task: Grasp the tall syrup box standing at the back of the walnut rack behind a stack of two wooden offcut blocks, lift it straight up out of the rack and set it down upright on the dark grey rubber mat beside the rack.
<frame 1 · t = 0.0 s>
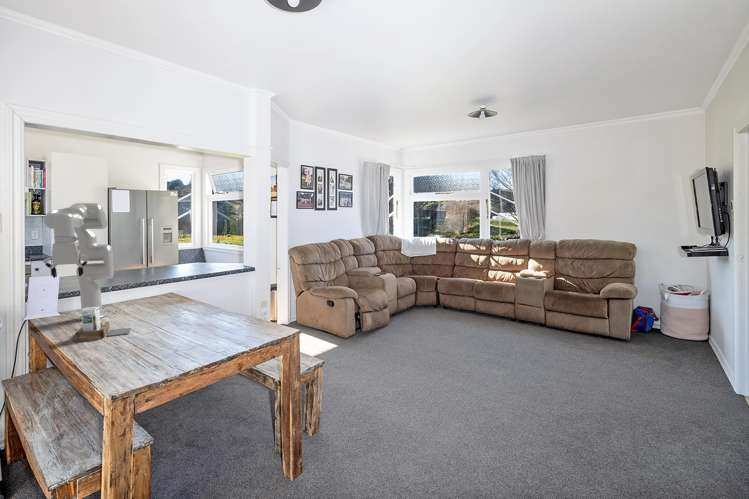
hand: (67, 276, 180), 31 cm above the table, fingers open, 9 cm apart
rack: (93, 335, 192), on the table
offcut upper: (94, 327, 195), point 3 cm above the table, touching offcut lower
offcut lower: (95, 333, 195), on the table, touching offcut upper
syrup box: (92, 337, 189), resting in rack
mat: (119, 332, 196), on the table
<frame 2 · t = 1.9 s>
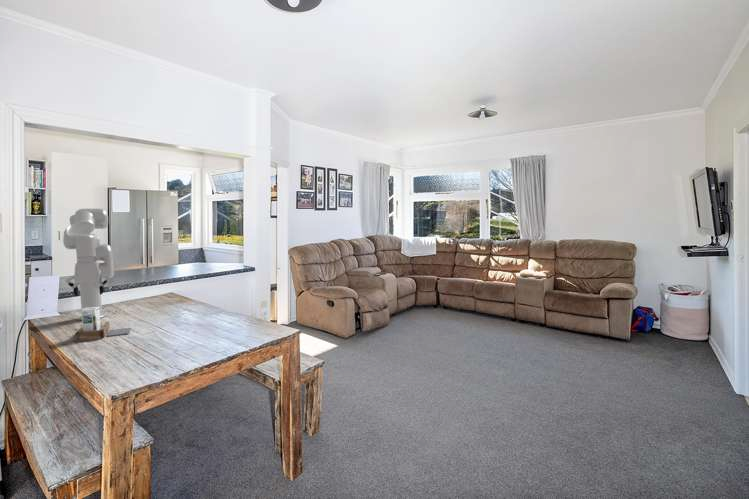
hand: (89, 294, 187), 21 cm above the table, fingers open, 9 cm apart
nothing on the table moved.
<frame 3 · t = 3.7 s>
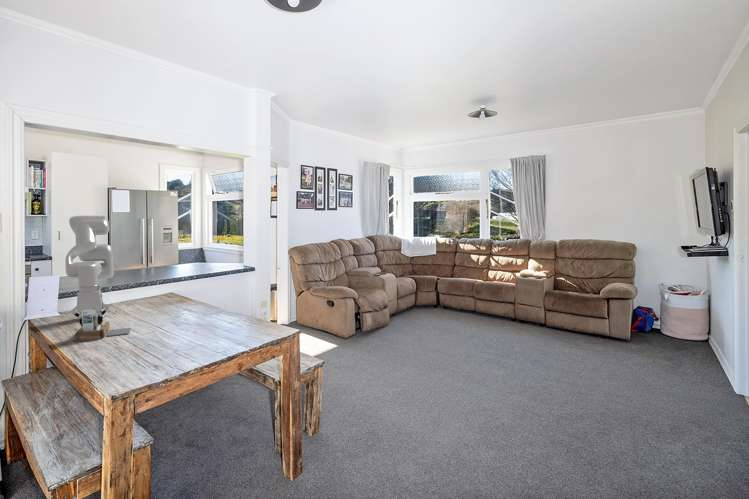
hand: (91, 324, 189), 6 cm above the table, fingers closed on syrup box, 6 cm apart
syrup box: (92, 337, 189), resting in rack, touching gripper
everything else where it was.
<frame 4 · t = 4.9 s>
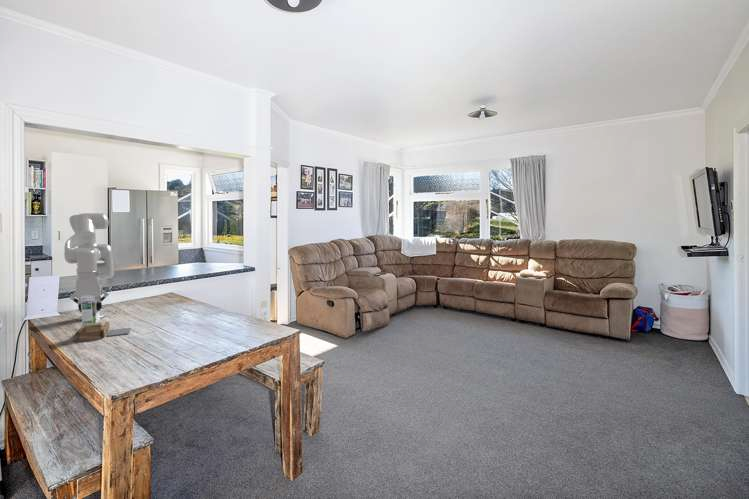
hand: (90, 310, 189), 13 cm above the table, fingers closed on syrup box, 6 cm apart
syrup box: (91, 323, 189), point 7 cm above the table, touching gripper
everything else where it was.
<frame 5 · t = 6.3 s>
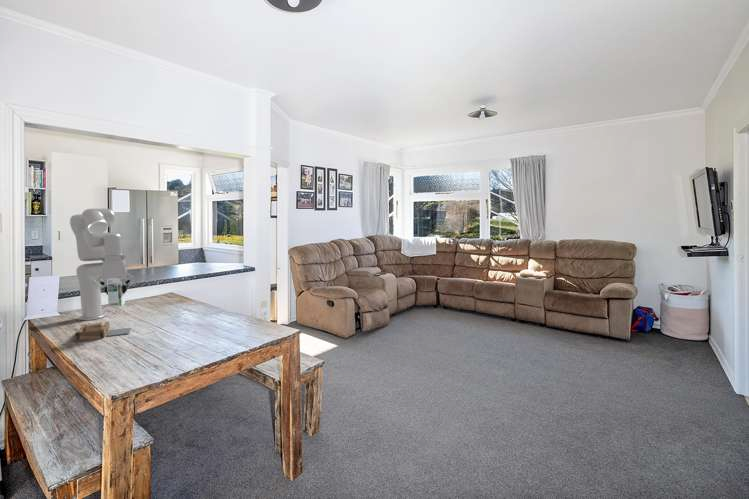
hand: (116, 293, 194), 20 cm above the table, fingers closed on syrup box, 6 cm apart
syrup box: (116, 305, 194), point 14 cm above the table, touching gripper
everything else where it was.
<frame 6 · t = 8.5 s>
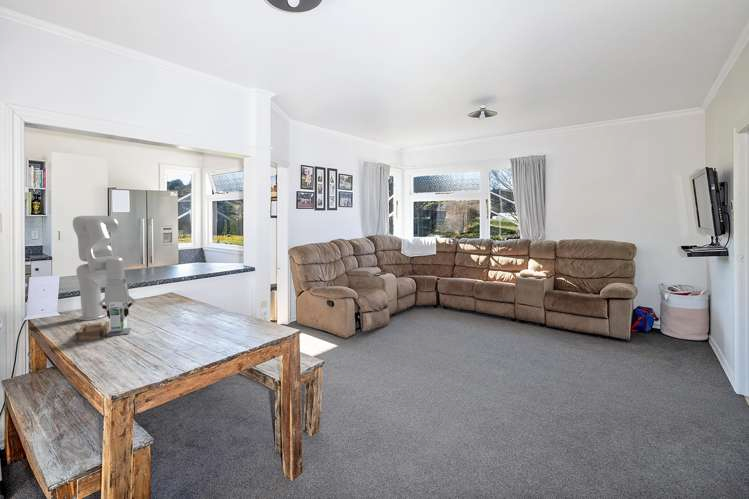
hand: (118, 316, 195), 8 cm above the table, fingers closed on syrup box, 6 cm apart
syrup box: (119, 328, 195), point 2 cm above the table, touching gripper
everything else where it was.
when the fingers open (8 cm above the table, at t = 9.1 s): syrup box drops 1 cm, resting on mat.
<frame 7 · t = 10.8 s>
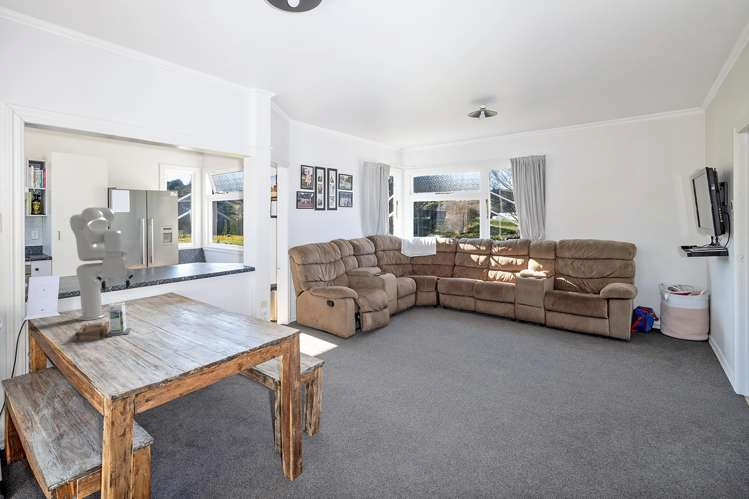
hand: (116, 288, 194), 23 cm above the table, fingers open, 9 cm apart
syrup box: (118, 331, 196), resting on mat
everything else where it was.
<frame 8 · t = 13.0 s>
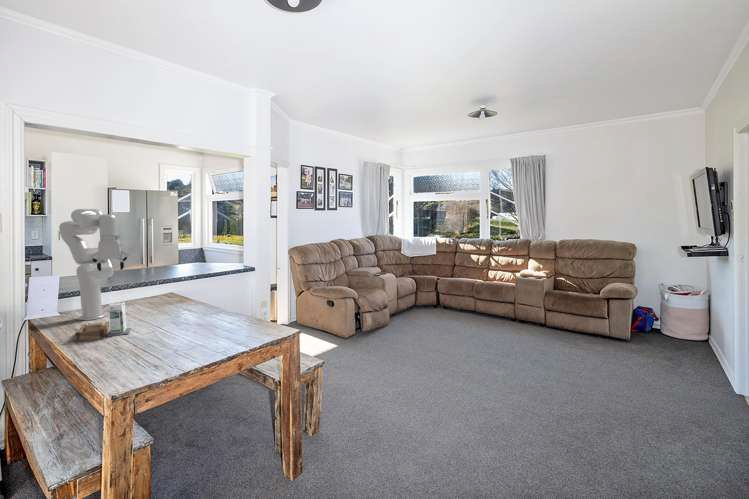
hand: (111, 270, 205), 30 cm above the table, fingers open, 9 cm apart
nothing on the table moved.
at the end: syrup box inside the target area on the mat (0.3 cm from its centre), point 0.4 cm above the mat's base; syrup box tilted 0°; the gripper is holding nothing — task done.
